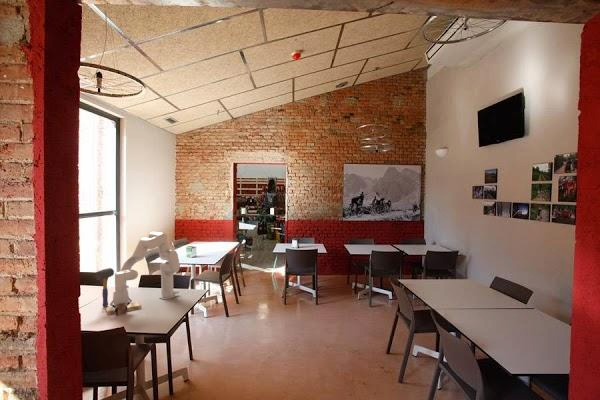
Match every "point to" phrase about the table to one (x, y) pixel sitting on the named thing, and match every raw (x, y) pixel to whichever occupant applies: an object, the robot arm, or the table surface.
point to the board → (130, 307)
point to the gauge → (121, 308)
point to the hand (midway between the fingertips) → (121, 312)
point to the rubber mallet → (104, 282)
